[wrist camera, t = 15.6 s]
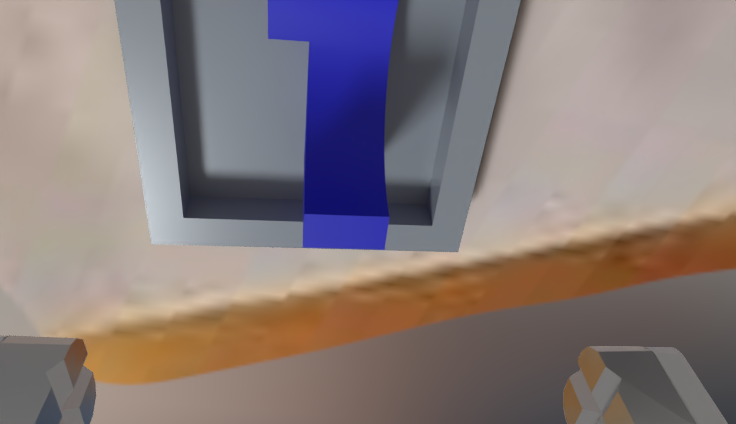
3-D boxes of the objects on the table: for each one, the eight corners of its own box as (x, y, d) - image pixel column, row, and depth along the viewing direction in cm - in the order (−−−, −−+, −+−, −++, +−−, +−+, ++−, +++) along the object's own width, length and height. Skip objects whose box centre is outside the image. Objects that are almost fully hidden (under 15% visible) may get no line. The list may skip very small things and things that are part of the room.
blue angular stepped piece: (271, -161, 18) (256, -146, 14) (408, -146, 19) (442, -125, 14) (269, 160, 25) (260, 246, 20) (370, 165, 26) (384, 249, 21)
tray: (547, -220, 19) (576, -222, 17) (447, 220, 29) (457, 252, 27) (98, -281, 17) (70, -291, 15) (163, 211, 27) (151, 244, 25)
